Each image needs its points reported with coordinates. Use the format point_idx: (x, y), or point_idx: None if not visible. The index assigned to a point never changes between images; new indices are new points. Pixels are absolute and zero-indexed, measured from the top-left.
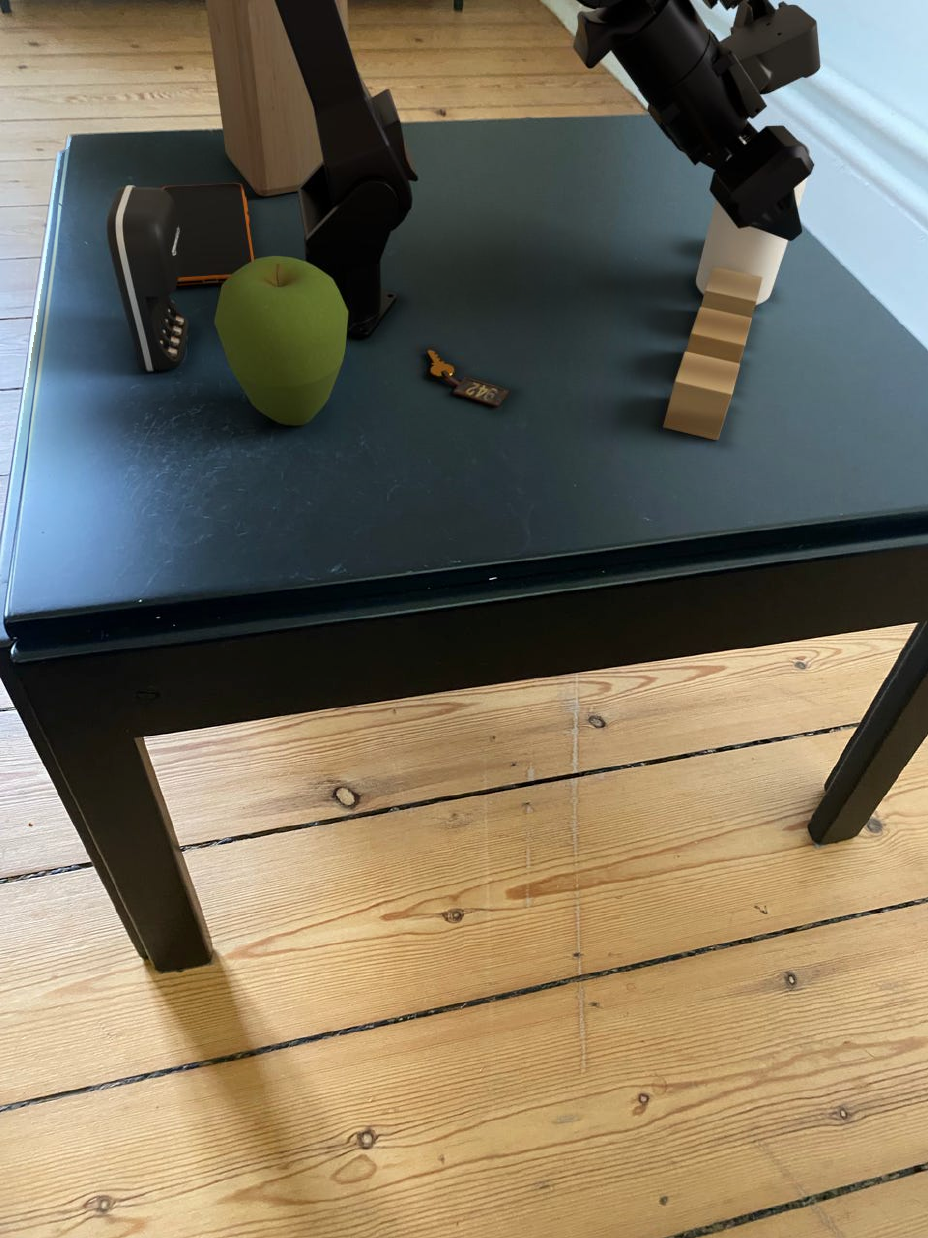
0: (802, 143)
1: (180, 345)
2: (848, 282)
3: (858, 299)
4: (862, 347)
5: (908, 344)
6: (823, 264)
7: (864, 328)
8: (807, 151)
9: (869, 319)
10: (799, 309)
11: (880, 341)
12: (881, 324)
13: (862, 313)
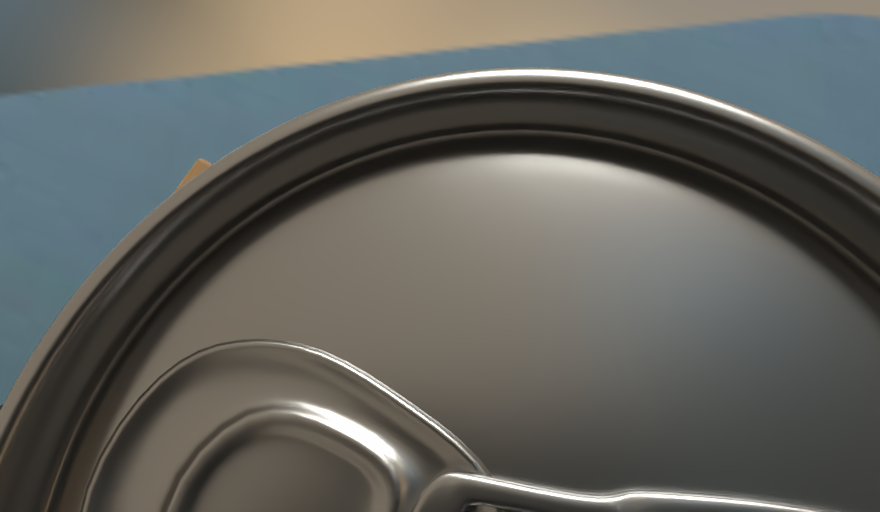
0: (431, 89)
1: None
2: (488, 49)
3: (585, 58)
4: (863, 154)
5: (840, 18)
6: (378, 80)
7: (751, 105)
8: (667, 111)
9: (699, 71)
10: None
11: (826, 88)
12: (728, 49)
13: (665, 78)
